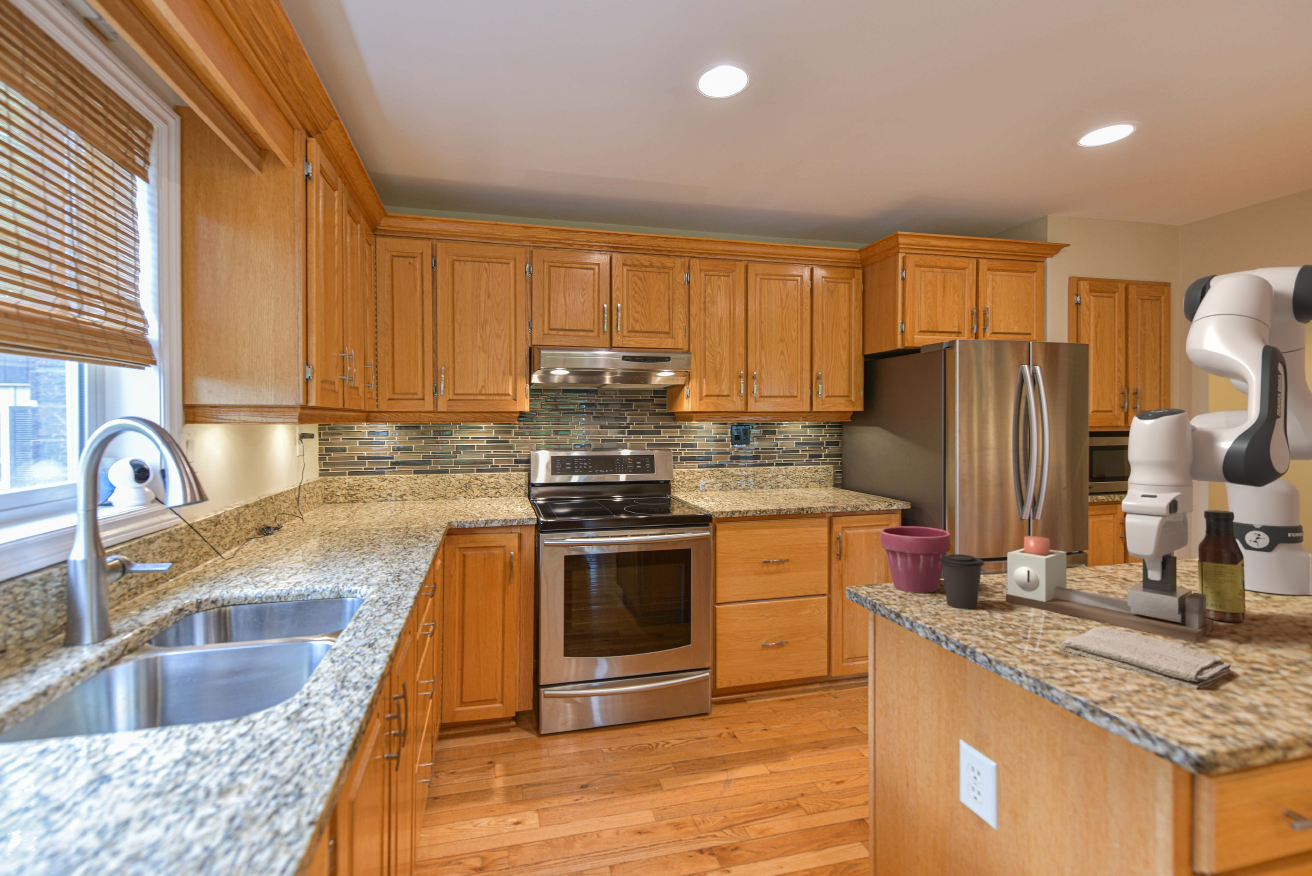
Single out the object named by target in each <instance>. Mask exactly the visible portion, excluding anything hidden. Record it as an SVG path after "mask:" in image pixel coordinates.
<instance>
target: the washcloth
mask: <svg viewBox="0 0 1312 876" xmlns="http://www.w3.org/2000/svg"><path fill="white" fill-rule="evenodd" d="M1060 647H1061V650H1062V651H1064V652H1065V651H1067V652H1066V653H1068V652H1071V653H1070V654H1072V653H1074V654H1073V655H1075V654H1077V655H1076V656H1079V655H1082V656H1085V657H1088V658H1087V659H1089V658H1091V659H1090V660H1092V659H1095V660H1094V661H1096V660H1098V661H1097V662H1099V661H1102V662H1101V663H1103V662H1105V663H1104V664H1106V663H1108V664H1107V665H1109V664H1112V665H1111V666H1113V665H1115V666H1114V667H1116V666H1118V667H1117V668H1120V667H1123V668H1126V669H1125V670H1127V669H1129V670H1128V671H1131V670H1132V671H1131V672H1135V671H1136V672H1135V673H1137V672H1138V674H1141V673H1142V674H1141V675H1145V676H1148V675H1149V677H1153V678H1155V679H1159V680H1163V681H1165V682H1168V683H1172V684H1175V685H1179V686H1181V687H1185V688H1189V689H1192V690H1196V691H1197V690H1198V688H1207V687H1209V686H1211V685H1213V684H1215V682H1217V681H1218V680H1221V679H1223V678H1225V677H1227V676H1228V675H1229V674H1230V673H1231V671H1232V670H1231V665H1232V664H1230V663H1228V662H1225V661H1222V657H1221V656H1219V655H1211V654H1207V653H1204V652H1201V651H1198V650H1195V649H1192V648H1189V647H1187V646H1186V645H1185V644H1184V643H1180V642H1174V641H1167V640H1161V639H1158V638H1157V639H1156V638H1154V637H1150V636H1147V635H1144V634H1139V633H1135V632H1129V631H1125V630H1120V629H1116V628H1112V627H1109V626H1099V627H1098V626H1097V627H1093V628H1091V629H1089V630H1087V631H1086V632H1084V633H1083V634H1078V635H1074V636H1072V637H1070V638H1067V639H1065V640H1062V643H1061V646H1060ZM1082 656H1081V657H1082ZM1085 657H1084V658H1085ZM1123 668H1122V669H1123Z"/></svg>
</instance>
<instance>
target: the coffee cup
mask: <svg viewBox="0 0 1312 876" xmlns="http://www.w3.org/2000/svg"><path fill="white" fill-rule="evenodd" d="M940 561H941V562H942V567H943V569H942V573H943V582H944V591H945V598H946V605H947V606H949V607H951V608H955V609H960V610H975V609H976V608H977V607H978V600H979V591H980V582H981V576H982V575H981V574H982V567H983V566H985V563H984V561H983V560H982V559H980V558H977V557H975V556H972V555H968V554H958V553H957V554H956V553H955V554H948V555H945V556H943V557H941V559H940Z"/></svg>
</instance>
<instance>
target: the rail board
mask: <svg viewBox="0 0 1312 876" xmlns="http://www.w3.org/2000/svg"><path fill="white" fill-rule="evenodd" d="M1005 602H1007V603H1010V604H1015V605H1019V606H1025V607H1028V608H1029V607H1030V608H1034V609H1040V610H1044V611H1049V612H1052V613H1057V614H1062V615H1067V616H1070V615H1071V616H1072V617H1076V618H1081V619H1084V618H1085V620H1089V621H1093V622H1098V623H1104V624H1109V625H1112V624H1113V626H1118V627H1123V628H1126V627H1127V628H1128V629H1131V628H1132V630H1136V631H1141V632H1145V633H1149V632H1150V634H1155V635H1160V636H1163V635H1164V636H1163V637H1168V636H1169V638H1174V639H1177V638H1178V639H1179V640H1182V641H1188V642H1192V643H1197V642H1199V641H1200V640H1202V639H1203V638H1204V637H1206V636H1207V635H1208V634H1210V633H1211V632H1212V631H1213V630H1214V629H1215V620H1214V619H1210V618H1206V594H1200V593H1199V592H1192V594H1191V595H1189V596H1187V597H1186V611H1184V612H1183V622H1181V623H1180V622H1175V621H1170V620H1165V619H1160V618H1155V617H1150V616H1145V615H1140V614H1135V613H1131V606H1128V598H1127V599H1126V598H1121V597H1117V596H1116V597H1115V596H1110V595H1106V594H1105V595H1104V594H1101V593H1093V592H1088V591H1083V590H1079V589H1078V590H1077V589H1072V588H1067V587H1066V588H1062V587H1056V588H1054V598H1053V599H1051V600H1049V601H1046V602H1044V601H1039V600H1034V599H1029V598H1024V597H1020V596H1015V595H1010V594H1007V593H1006V594H1005ZM1127 628H1126V629H1127Z"/></svg>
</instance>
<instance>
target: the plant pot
mask: <svg viewBox="0 0 1312 876" xmlns="http://www.w3.org/2000/svg"><path fill="white" fill-rule="evenodd" d="M880 544H881V547H882V548H883V549H884V550H885V554H886V558H887V562H888V563H887V564H888V567H889V570H890V576H891V579H892V583H893V587H895V589H897V590H900V591H903V592H909V593H917V594H920V593H921V594H923V593H924V594H926V593H934V592H936V591H938V589H939V584H940V580H941V576H942V573H943V567H942V562H941V561H940V559H941V557H943V556H947V555H946V554H947V553H948V552H949V551H950V550H951V533H950V532H949V531H947V530H944V529H940V528H934V527H926V526H913V525H910V526H908V525H907V526H906V525H905V526H903V525H901V526H900V525H899V526H889V527H885V528H882V529H881V531H880Z"/></svg>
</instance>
